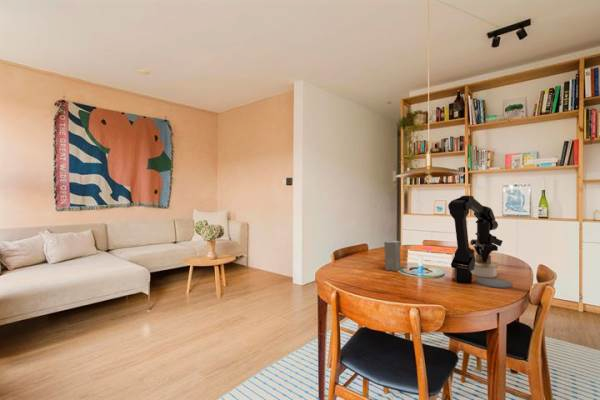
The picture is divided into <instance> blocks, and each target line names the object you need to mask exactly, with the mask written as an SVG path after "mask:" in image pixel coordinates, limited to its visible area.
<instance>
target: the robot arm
mask: <svg viewBox="0 0 600 400" xmlns="http://www.w3.org/2000/svg"><path fill="white" fill-rule="evenodd" d="M447 208H448V211H449V215H450V216H451V217H452V218H453V220H454V227H455V236H456V244H457V245H456V246H457V248H456V250H455V252H454V256H453V259H452V261H451V262H450V267H451V268H452V269H454V277H453V280H454V281H455V282H456V283H457V284H458V283H459V284H473V282H472V281H473V274H472V273H471V270H474V266H475V260H476V255H481V256H482V259H483V262H486V261H487V259H488V256H489V255H490V254H491V253H492V252H497V251H499V249H498V248H499V247H501V246H502V244H503V240H501V239H499V238H497V236H495V235H492V233H491V231H495V230H496V229H498V227H499V223H498V221H497V220H496V218H495V215H494V212H493V209H492V208H491V207H489V206H487V205H482V204H481V203H480V202H479V201H478V200H477V199H475V198H474V196H473V195H461V196H460V197H458V198H455V199H453V200H451V201H450V202H449V203H448V206H447ZM470 210H471V211H472V212H473V215H474V217H475V218H476V219H477V220H476V221H475V223H476V232H475V236H476V239H473V238H472V239H470V241H469V235H468V227H467V217H468V215H469V214H470ZM469 242H470V243H469ZM470 245H471V246H473V247H472V248H471V247H470ZM473 248H474V249H473ZM475 252H476V255H475Z"/></svg>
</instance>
